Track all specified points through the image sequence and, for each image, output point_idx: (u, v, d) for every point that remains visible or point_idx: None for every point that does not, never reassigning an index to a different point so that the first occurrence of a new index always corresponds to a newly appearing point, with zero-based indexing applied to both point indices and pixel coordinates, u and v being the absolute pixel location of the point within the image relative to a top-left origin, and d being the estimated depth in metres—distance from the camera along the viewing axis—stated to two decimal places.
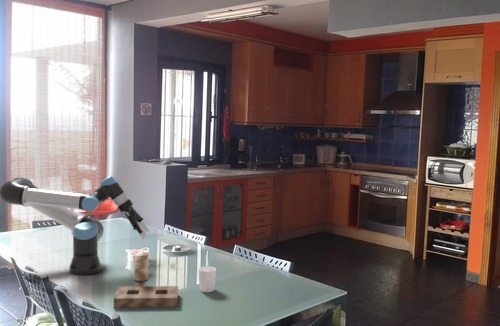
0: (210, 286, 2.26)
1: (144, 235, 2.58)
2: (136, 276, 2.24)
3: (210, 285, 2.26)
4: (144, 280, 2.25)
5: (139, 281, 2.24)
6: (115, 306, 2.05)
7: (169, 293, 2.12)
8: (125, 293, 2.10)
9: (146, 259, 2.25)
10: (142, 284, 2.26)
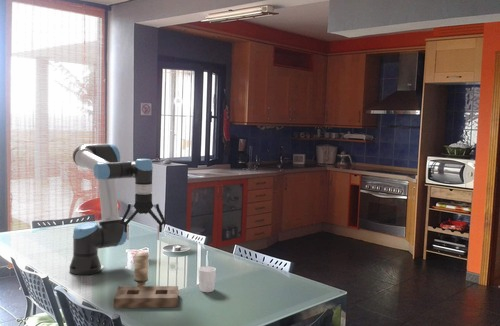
0: (210, 286, 2.26)
1: (126, 236, 2.25)
2: (136, 276, 2.24)
3: (210, 285, 2.26)
4: (144, 280, 2.25)
5: (139, 281, 2.24)
6: (115, 306, 2.05)
7: (169, 293, 2.12)
8: (125, 293, 2.10)
9: (146, 259, 2.25)
10: (142, 284, 2.26)
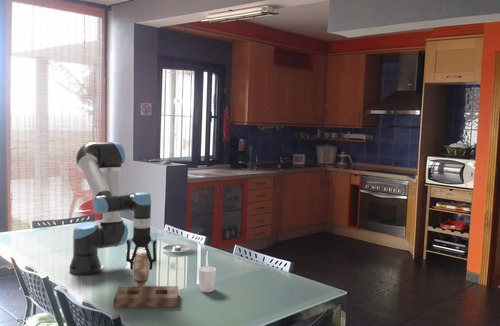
0: (210, 286, 2.26)
1: None
2: (136, 276, 2.24)
3: (210, 285, 2.26)
4: (144, 280, 2.25)
5: (139, 281, 2.24)
6: (115, 306, 2.05)
7: (169, 293, 2.12)
8: (125, 293, 2.10)
9: (146, 259, 2.25)
10: (142, 284, 2.26)
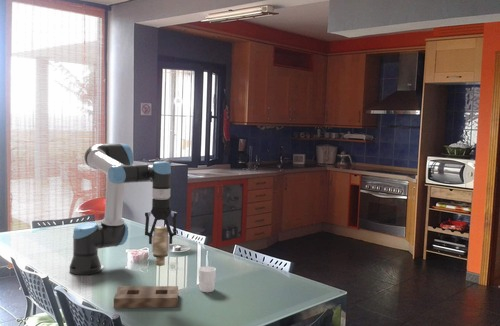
0: (210, 286, 2.26)
1: None
2: (155, 251, 2.10)
3: (210, 285, 2.26)
4: (164, 255, 2.11)
5: (159, 256, 2.10)
6: (115, 306, 2.05)
7: (169, 293, 2.12)
8: (125, 293, 2.10)
9: (166, 232, 2.10)
10: (162, 259, 2.11)
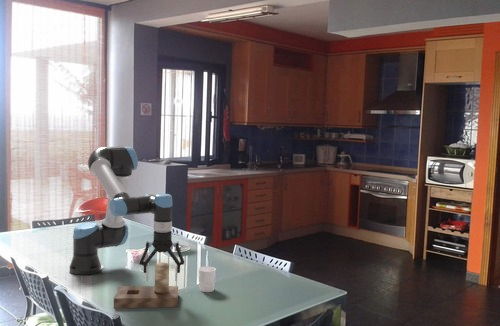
0: (210, 286, 2.26)
1: (146, 277, 2.12)
2: (156, 287, 2.11)
3: (210, 285, 2.26)
4: (165, 292, 2.11)
5: (160, 293, 2.10)
6: (115, 306, 2.05)
7: (169, 293, 2.12)
8: (125, 293, 2.10)
9: (167, 269, 2.11)
10: None
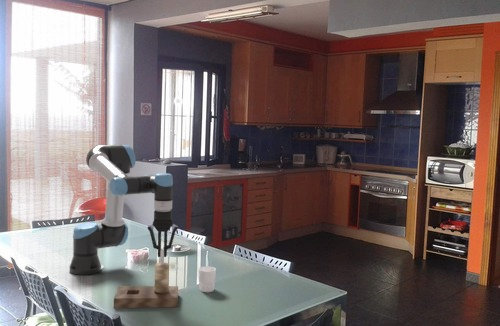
0: (210, 286, 2.26)
1: (160, 261, 2.12)
2: (156, 287, 2.11)
3: (210, 285, 2.26)
4: (165, 292, 2.11)
5: (160, 293, 2.10)
6: (115, 306, 2.05)
7: (169, 293, 2.12)
8: (125, 293, 2.10)
9: (167, 269, 2.11)
10: None
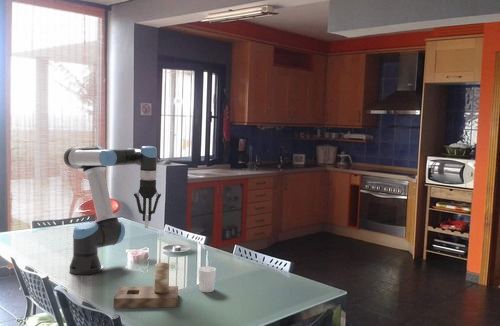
0: (210, 286, 2.26)
1: (145, 225, 2.37)
2: (156, 287, 2.11)
3: (210, 285, 2.26)
4: (165, 292, 2.11)
5: (160, 293, 2.10)
6: (115, 306, 2.05)
7: (169, 293, 2.12)
8: (125, 293, 2.10)
9: (167, 269, 2.11)
10: None
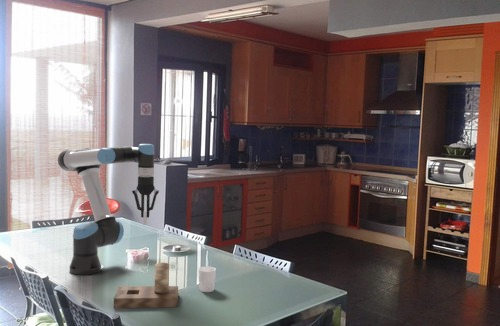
0: (210, 286, 2.26)
1: None
2: (156, 287, 2.11)
3: (210, 285, 2.26)
4: (165, 292, 2.11)
5: (160, 293, 2.10)
6: (115, 306, 2.05)
7: (169, 293, 2.12)
8: (125, 293, 2.10)
9: (167, 269, 2.11)
10: None
